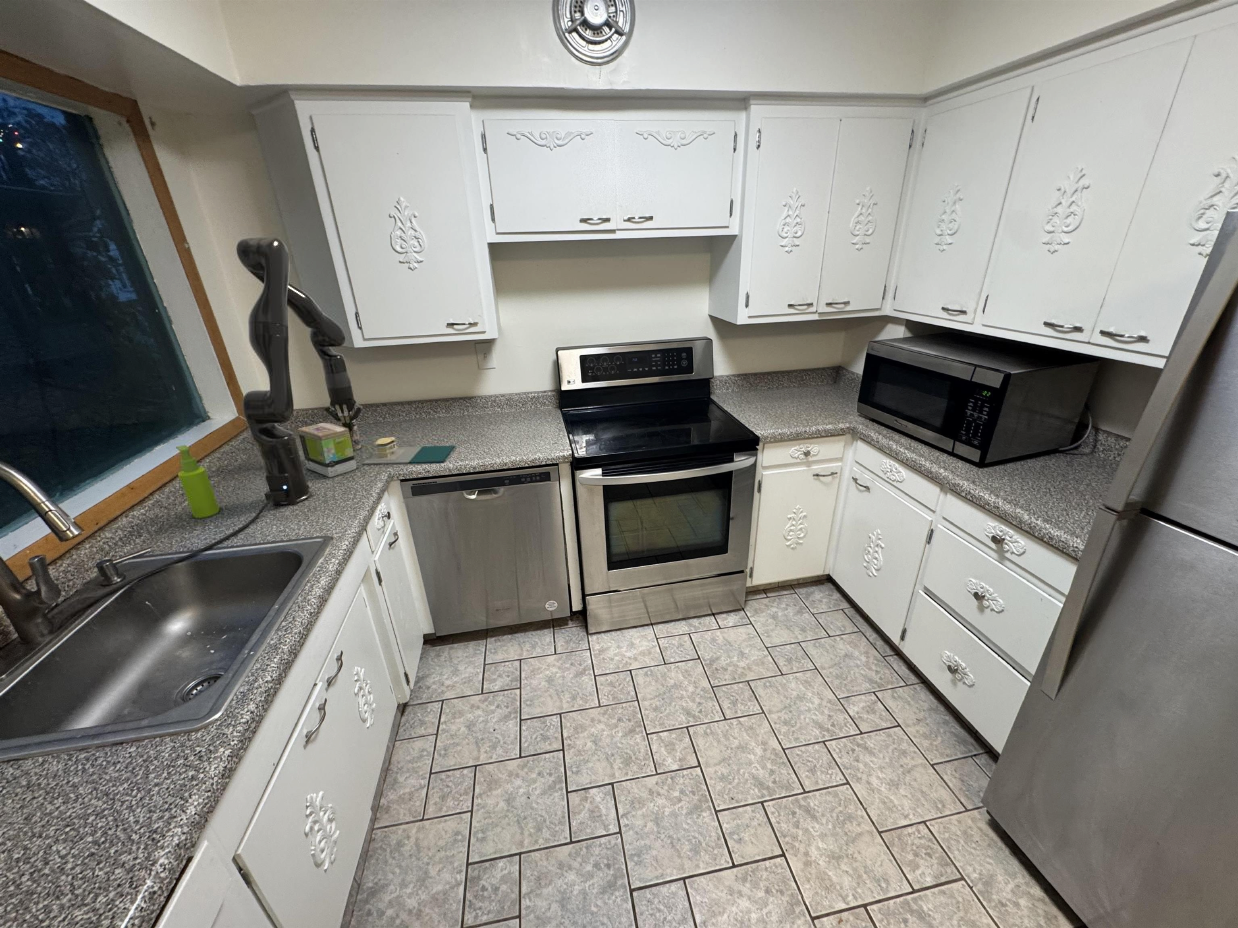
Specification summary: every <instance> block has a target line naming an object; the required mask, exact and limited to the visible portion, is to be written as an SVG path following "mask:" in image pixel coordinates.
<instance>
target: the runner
mask: <svg viewBox="0 0 1238 928" xmlns="http://www.w3.org/2000/svg"><path fill="white" fill-rule="evenodd" d="M397 447H398V448H396V449H395V450H404V451H403V452H402V453H401V454H400V455H399V456H398V457H397V458H396V459H381V460H370V459H371V458H372V457H374V456H375V455H376V454H377V451H378V450H377V449H376V450H375V451H374V452H373V453H372V454H370V456H369V457H367V458H366V459H365V460H364V461H363V462H362V463H361V464H362V465H363V466H367V465H368V466H370V465H399V464H400V465H404V464H406V465H407V464H408V465H409V464H442V463H445V461H446V459H447V458H448V457H449V455H450V454H451V453H452V451H453V450H454V448H455V445H427V446H426V445H424V446H423V445H422V446H421V445H420V446H397Z"/></svg>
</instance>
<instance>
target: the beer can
mask: <svg viewBox="0 0 1238 928" xmlns="http://www.w3.org/2000/svg"><path fill="white" fill-rule="evenodd" d="M352 423H353V427H354V430H353V431H352V432H351V433H349V434H350V439H351V443H352V448H353V451H357V450H359V449H361V447H362V444H361V443H362V442H361V440H360V439H361V438H360V435H359V430H358V425H357V419H355V420H354V421H352ZM341 427H343V423H342V422H341Z"/></svg>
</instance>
